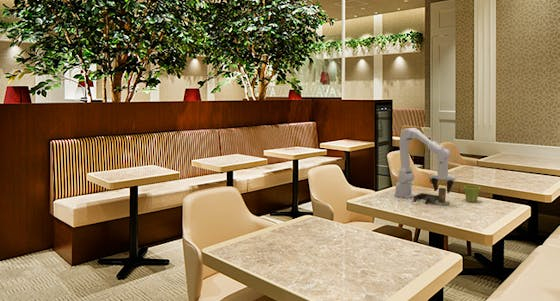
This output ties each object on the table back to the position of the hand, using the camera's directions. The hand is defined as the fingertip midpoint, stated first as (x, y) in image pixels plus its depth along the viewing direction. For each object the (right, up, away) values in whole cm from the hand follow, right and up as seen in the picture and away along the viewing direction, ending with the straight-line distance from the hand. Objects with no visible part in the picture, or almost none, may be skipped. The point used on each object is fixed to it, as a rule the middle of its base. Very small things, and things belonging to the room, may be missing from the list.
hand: (441, 191), depth 254 cm
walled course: (-7, -7, +6) cm, 11 cm away
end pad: (0, -7, +1) cm, 7 cm away
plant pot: (+20, -6, +6) cm, 22 cm away
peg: (0, -6, +1) cm, 6 cm away
